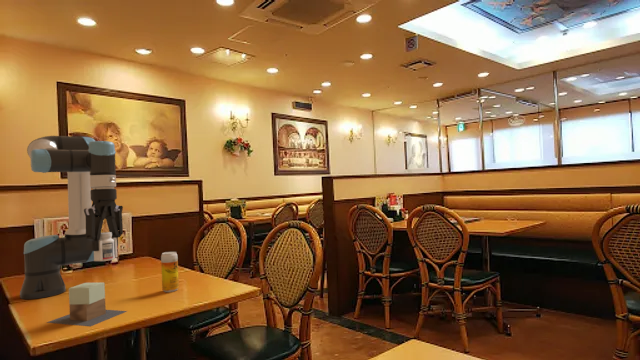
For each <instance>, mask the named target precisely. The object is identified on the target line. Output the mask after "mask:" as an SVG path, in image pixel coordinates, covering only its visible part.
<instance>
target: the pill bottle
mask: <svg viewBox="0 0 640 360" xmlns="http://www.w3.org/2000/svg"><path fill="white" fill-rule="evenodd" d="M100 240H102V252H103V261H102V262H106V261H108V262H109V261H112V260H115V251H114V239H112V232H109V231H105V232H104V231H103V232H101V235H100Z"/></svg>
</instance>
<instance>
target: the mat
mask: <svg viewBox="0 0 640 360" xmlns="http://www.w3.org/2000/svg"><path fill="white" fill-rule="evenodd" d="M127 312H128V310H118V309H117V310H114V309H106V314H104V315H101V316H99V317H96V318H93V319H91V320H88V321H80V320H70V313H69V314H66V315H63V316H60V317H58V318H55V319H52V320H50V321H46V323H48V324H60V325H71V326H81V327H93V326H95V325H98V324H101V323H103V322H105V321H107V320H110V319H113V318H114V317H117V316H119V315H122V314H125V313H127Z"/></svg>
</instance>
